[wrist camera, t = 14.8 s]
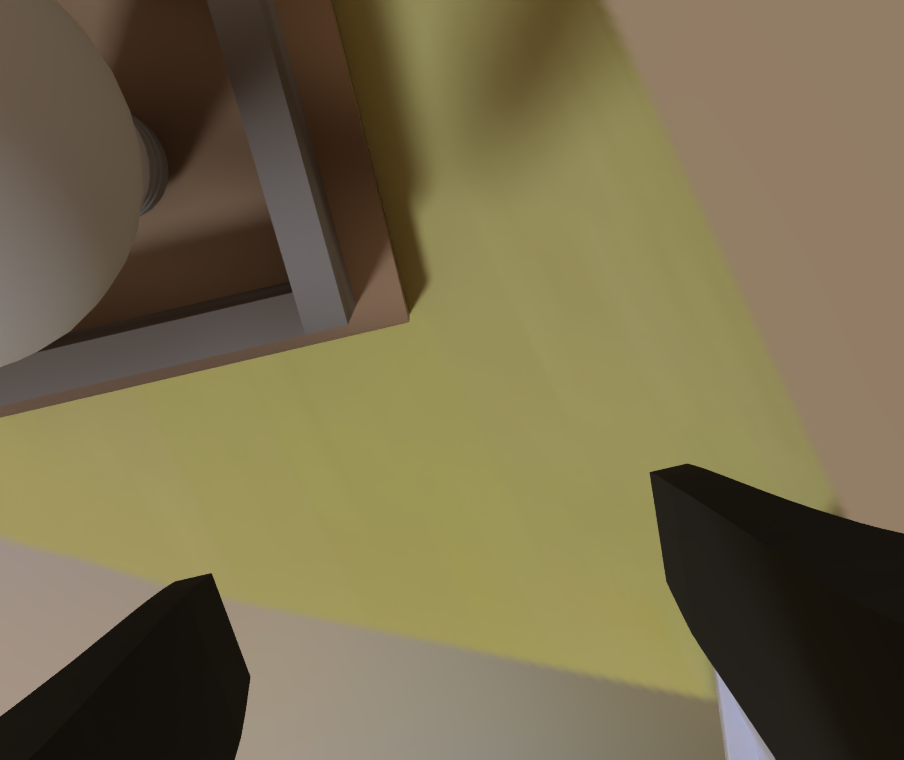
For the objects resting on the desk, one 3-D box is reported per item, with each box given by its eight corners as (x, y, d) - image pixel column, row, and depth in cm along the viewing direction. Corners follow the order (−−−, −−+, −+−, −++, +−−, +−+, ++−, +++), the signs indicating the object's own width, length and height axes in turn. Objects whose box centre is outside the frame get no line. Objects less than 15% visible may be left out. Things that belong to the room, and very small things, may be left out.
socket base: (409, 314, 19) (408, 343, 16) (-6, 411, 20) (-93, 460, 16) (297, -136, 16) (268, -218, 13) (-196, -17, 16) (-354, -67, 13)
